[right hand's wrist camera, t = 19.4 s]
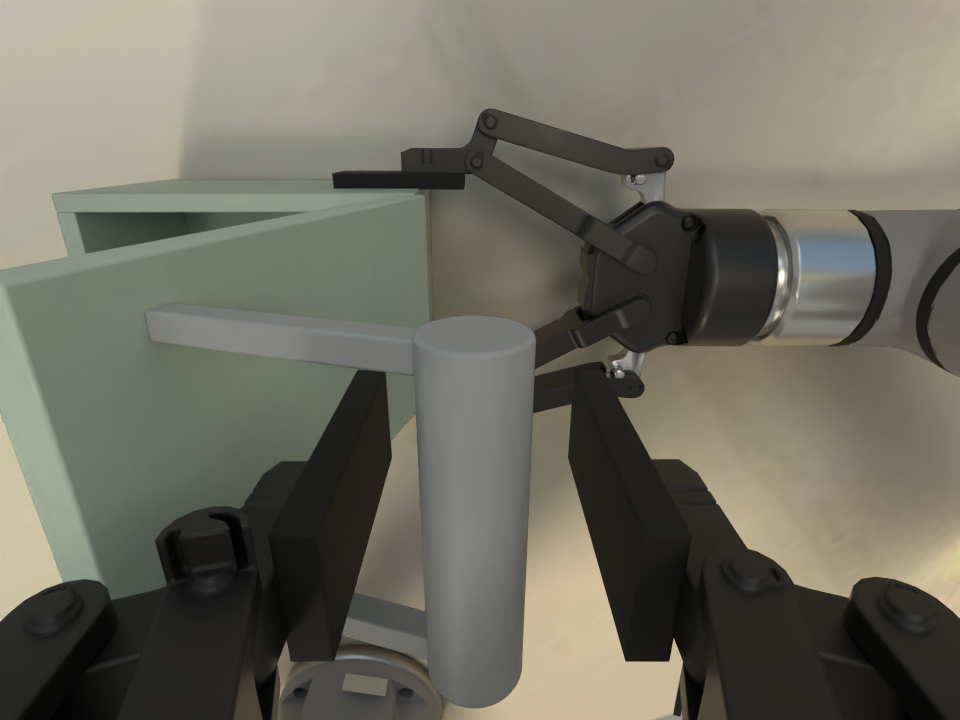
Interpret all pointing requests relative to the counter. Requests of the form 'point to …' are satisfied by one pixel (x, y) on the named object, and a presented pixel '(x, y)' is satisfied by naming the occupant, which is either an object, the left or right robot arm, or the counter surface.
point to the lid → (275, 409)
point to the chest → (200, 209)
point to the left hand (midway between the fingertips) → (348, 278)
